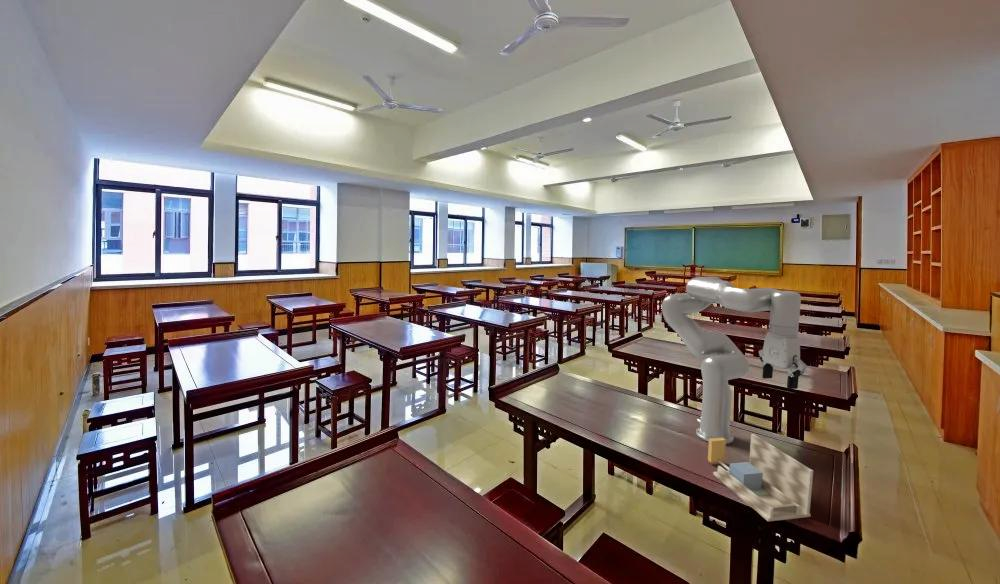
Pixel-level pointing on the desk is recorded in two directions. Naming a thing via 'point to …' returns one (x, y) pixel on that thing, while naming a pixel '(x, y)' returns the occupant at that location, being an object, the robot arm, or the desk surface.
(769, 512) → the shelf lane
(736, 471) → the toy blocks
